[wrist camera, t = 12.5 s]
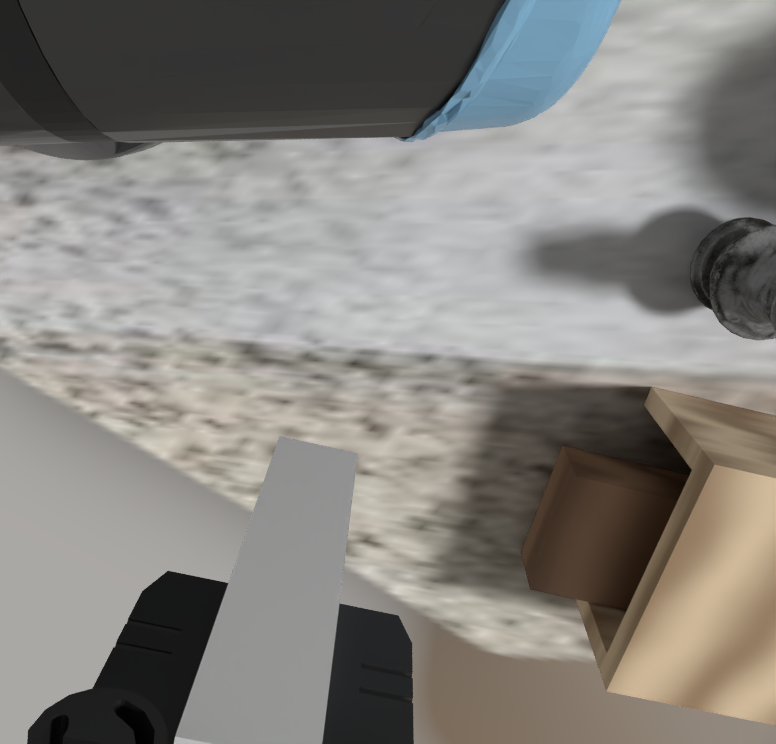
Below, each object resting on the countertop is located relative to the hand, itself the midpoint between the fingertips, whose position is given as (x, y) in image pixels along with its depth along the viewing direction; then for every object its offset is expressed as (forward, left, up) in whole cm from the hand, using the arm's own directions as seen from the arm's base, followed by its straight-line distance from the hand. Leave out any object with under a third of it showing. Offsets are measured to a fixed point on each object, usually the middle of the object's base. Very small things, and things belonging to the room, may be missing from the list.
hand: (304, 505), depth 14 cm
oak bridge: (+23, -12, -26) cm, 37 cm away
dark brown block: (+20, -14, -27) cm, 36 cm away
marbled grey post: (+20, +3, -27) cm, 33 cm away
